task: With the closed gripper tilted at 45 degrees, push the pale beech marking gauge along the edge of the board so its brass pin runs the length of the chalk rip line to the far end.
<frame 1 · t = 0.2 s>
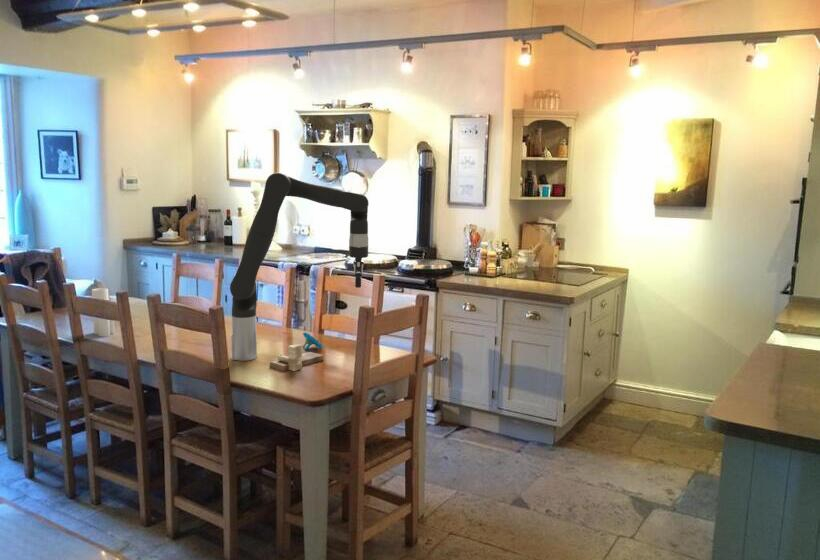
hand: (358, 285, 261), 29 cm above the table, tool pointing down, fingers open, 8 cm apart
vase: (104, 334, 297), on the table
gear: (312, 349, 277), on the table
board: (297, 363, 255), on the table
gauge: (288, 355, 248), point 5 cm above the table, slide at 0.0 cm
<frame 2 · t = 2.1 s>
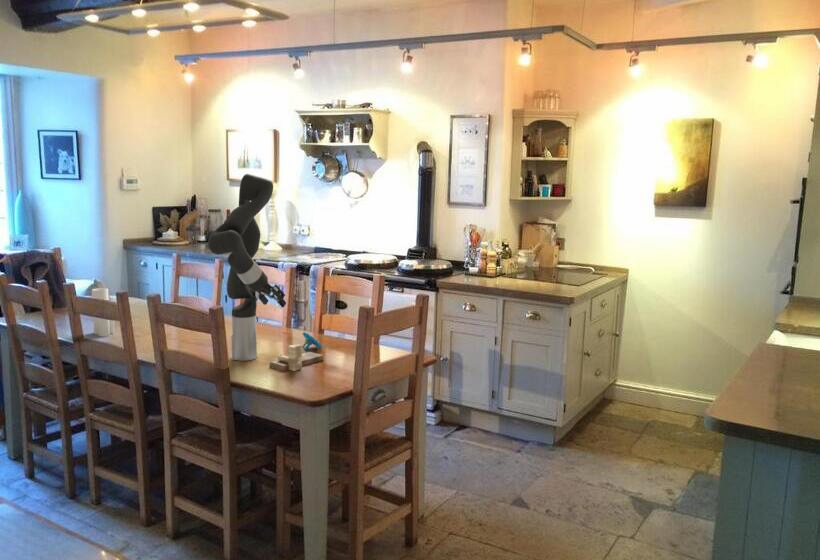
hand: (275, 304, 235), 26 cm above the table, tool tilted 45°, fingers open, 8 cm apart
nothing on the table moved.
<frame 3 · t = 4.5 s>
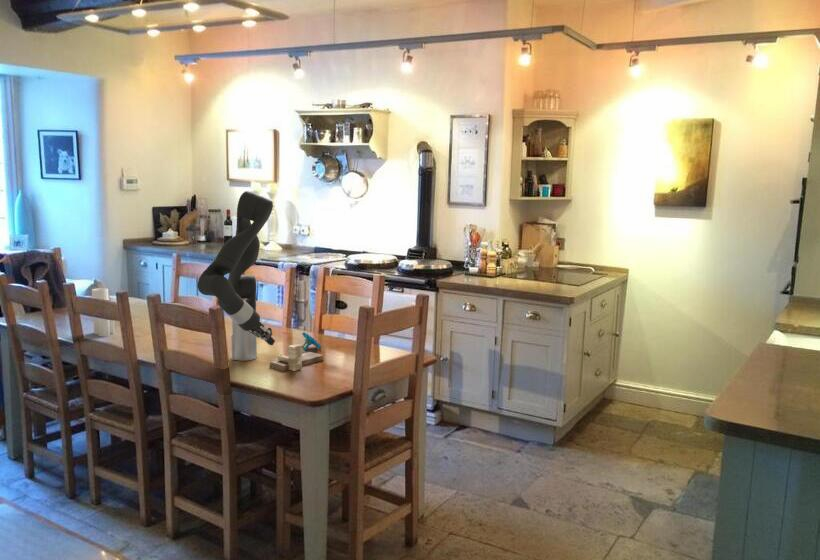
hand: (272, 343, 236), 12 cm above the table, tool tilted 45°, fingers closed
nothing on the table moved.
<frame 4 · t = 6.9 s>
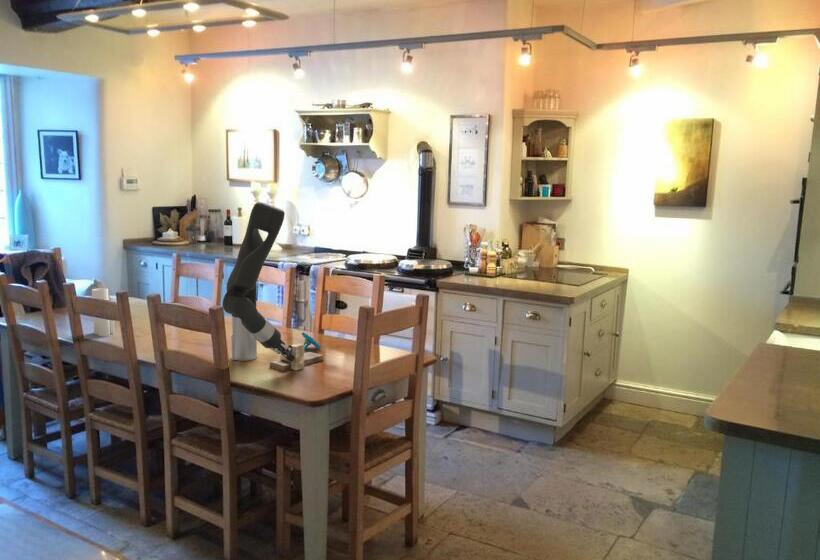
hand: (292, 359, 245), 4 cm above the table, tool tilted 45°, fingers closed
gauge: (291, 355, 249), point 5 cm above the table, slide at 1.1 cm, touching gripper
everything else where it was.
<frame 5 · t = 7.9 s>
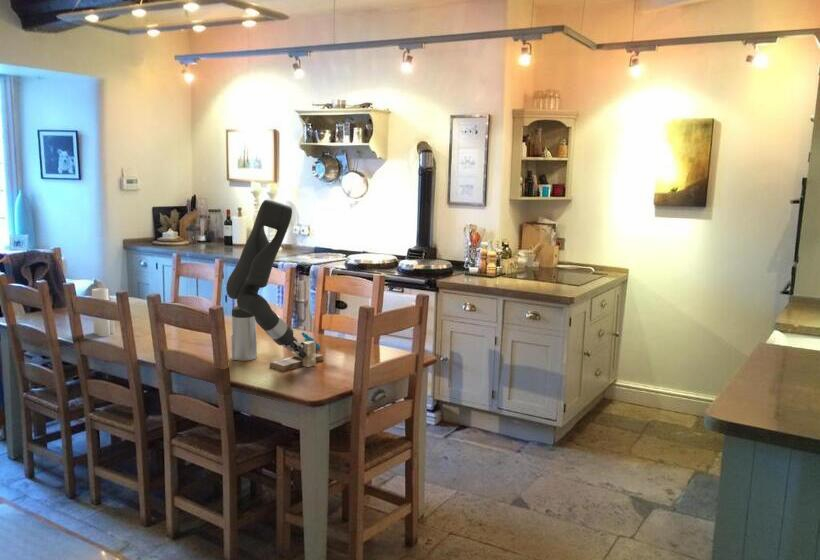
hand: (303, 356, 249), 4 cm above the table, tool tilted 45°, fingers closed
gauge: (302, 352, 253), point 5 cm above the table, slide at 6.9 cm, touching gripper
everything else where it was.
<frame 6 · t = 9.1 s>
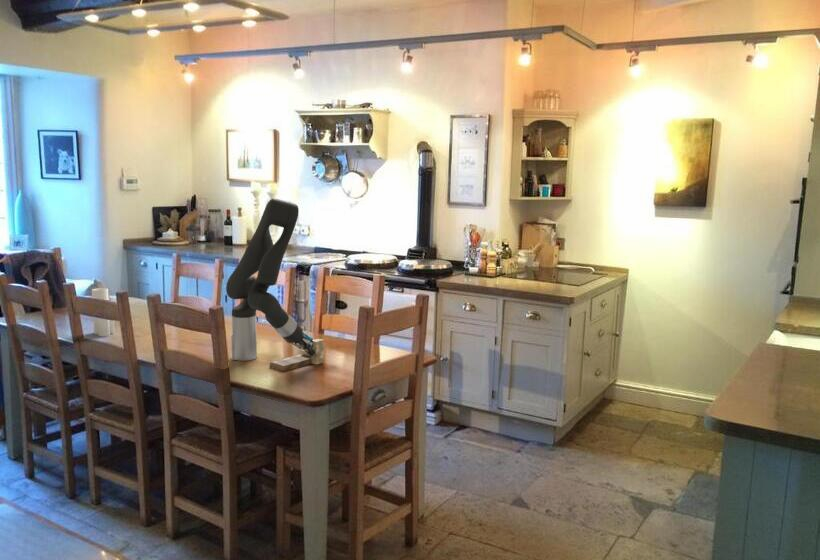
hand: (312, 353, 253), 4 cm above the table, tool tilted 45°, fingers closed
gauge: (311, 349, 257), point 5 cm above the table, slide at 11.4 cm, touching gripper
everything else where it was.
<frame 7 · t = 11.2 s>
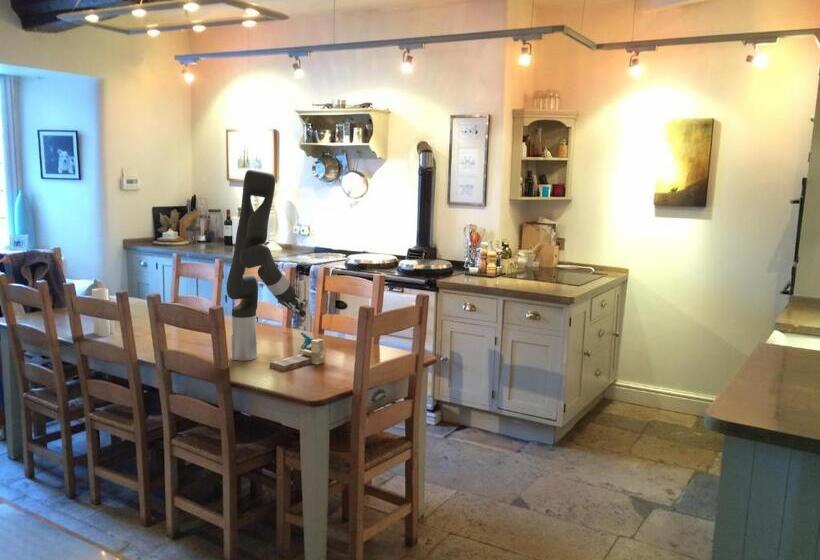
hand: (303, 315, 248), 20 cm above the table, tool tilted 45°, fingers closed
gauge: (311, 349, 257), point 5 cm above the table, slide at 11.5 cm
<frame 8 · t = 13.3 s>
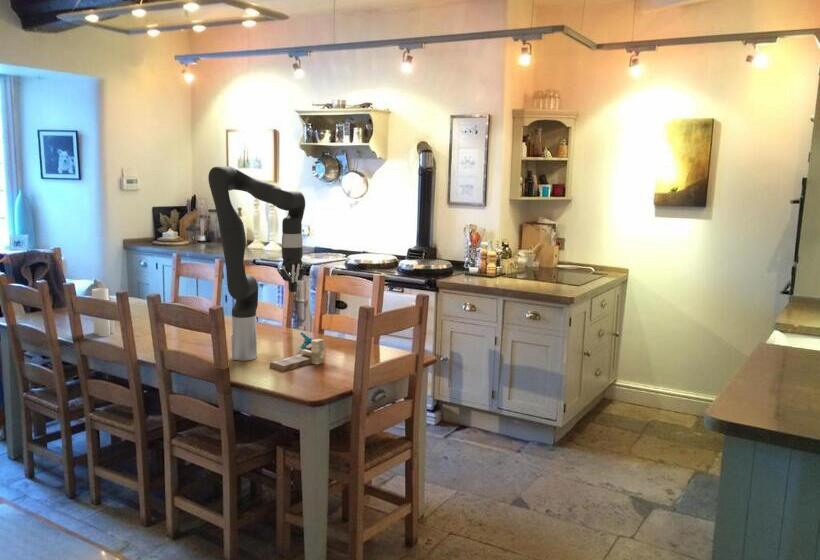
hand: (292, 291, 245), 29 cm above the table, tool pointing down, fingers closed
at the end: gauge slide at 11.5 cm; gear moved 1.3 cm from its start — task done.
